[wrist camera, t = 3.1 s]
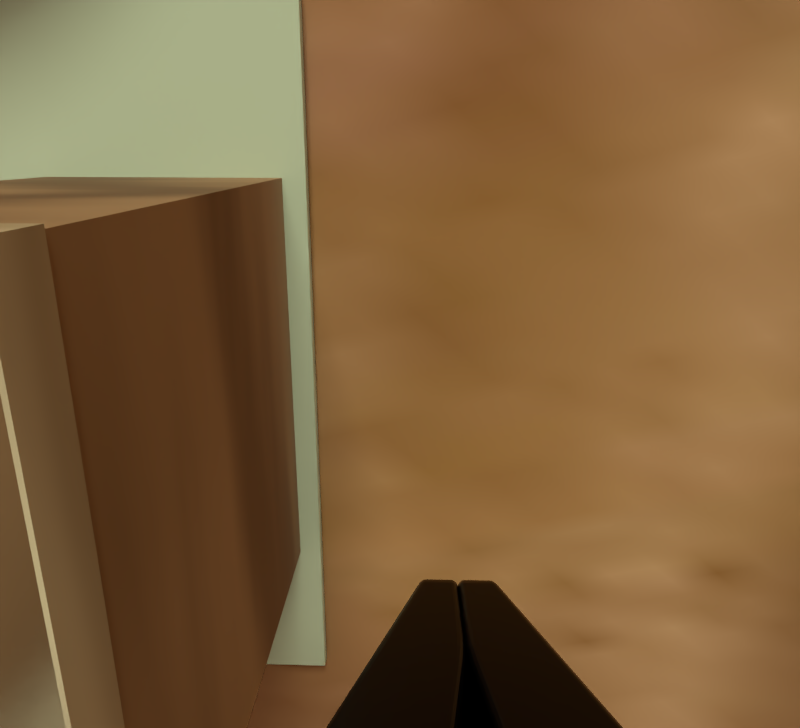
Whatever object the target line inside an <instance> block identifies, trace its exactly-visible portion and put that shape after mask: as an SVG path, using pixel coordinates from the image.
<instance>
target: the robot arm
mask: <svg viewBox="0 0 800 728" xmlns="http://www.w3.org/2000/svg"><path fill="white" fill-rule="evenodd" d="M327 728H623V727H622V726H621V725H620V724H619V723H618V722H617V721H616V719H615V718H614V717H613V716H612V715H611V714H610V713H609V712H608V710H607V709H606V708H605V707H604V706H603V705H602V704H601V702H600V701H599V700H598V699H597V698H596V697H595V696H594V694H593V693H592V692H591V691H590V690H589V689H588V688H587V686H586V685H585V684H584V683H583V682H582V681H581V680H580V679H579V677H578V676H577V675H576V674H575V673H574V672H573V671H572V669H571V668H570V667H569V666H568V665H567V664H566V663H565V661H564V660H563V659H562V658H561V657H560V656H559V655H558V654H557V652H556V651H555V650H554V649H553V648H552V647H551V646H550V644H549V643H548V642H547V641H546V640H545V639H544V638H543V636H542V635H541V634H540V633H539V632H538V631H537V630H536V628H535V627H534V626H533V625H532V624H531V623H530V622H529V621H528V619H527V618H526V617H525V616H524V615H523V614H522V613H521V611H520V610H519V609H518V608H517V607H516V606H515V605H514V603H513V602H512V601H511V600H510V599H509V598H508V597H507V595H506V594H505V593H504V592H503V591H502V590H501V589H500V588H499V586H498V585H497V584H496V583H494V582H493V581H479V580H463V581H461V582H460V583H459V584H458V586H457V584H456V582H454V581H453V580H428V579H427V580H423V581H421V582H420V583H419V585H418V586H417V588H416V589H415V591H414V592H413V594H412V596H411V597H410V599H409V600H408V602H407V603H406V605H405V606H404V608H403V610H402V611H401V613H400V614H399V616H398V617H397V619H396V620H395V622H394V624H393V625H392V627H391V628H390V630H389V631H388V633H387V634H386V636H385V638H384V639H383V641H382V642H381V644H380V645H379V647H378V648H377V650H376V651H375V653H374V655H373V656H372V658H371V659H370V661H369V662H368V664H367V665H366V667H365V669H364V670H363V672H362V673H361V675H360V676H359V678H358V679H357V681H356V683H355V684H354V686H353V687H352V689H351V690H350V692H349V693H348V695H347V697H346V698H345V700H344V701H343V703H342V704H341V706H340V707H339V709H338V710H337V712H336V714H335V715H334V717H333V718H332V720H331V721H330V723H329V724H328V726H327Z"/></svg>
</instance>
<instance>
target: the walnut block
mask: <svg viewBox="0 0 800 728" xmlns="http://www.w3.org/2000/svg"><path fill="white" fill-rule="evenodd" d="M300 552H301V549H300V529H299V509H298V489H297V470H296V450H295V430H294V410H293V390H292V370H291V350H290V331H289V311H288V291H287V271H286V251H285V231H284V212H283V192H282V178H189V177H38V178H25V179H12V180H0V728H247V726H248V723H249V720H250V717H251V713H252V710H253V707H254V703H255V700H256V697H257V694H258V690H259V687H260V684H261V680H262V677H263V674H264V671H265V667H266V664H267V661H268V657H269V654H270V651H271V647H272V644H273V641H274V638H275V634H276V631H277V628H278V624H279V621H280V618H281V615H282V611H283V608H284V605H285V601H286V598H287V595H288V592H289V588H290V585H291V582H292V578H293V575H294V572H295V569H296V565H297V562H298V559H299V555H300Z"/></svg>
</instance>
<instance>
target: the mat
mask: <svg viewBox="0 0 800 728" xmlns="http://www.w3.org/2000/svg"><path fill="white" fill-rule="evenodd" d="M38 177H189V178H282V192H283V212H284V231H285V251H286V271H287V291H288V311H289V331H290V350H291V370H292V390H293V410H294V430H295V450H296V470H297V489H298V509H299V529H300V549H301V552H300V555H299V559H298V562H297V565H296V569H295V572H294V575H293V578H292V582H291V585H290V588H289V592H288V595H287V598H286V601H285V605H284V608H283V611H282V615H281V618H280V621H279V624H278V628H277V631H276V634H275V638H274V641H273V644H272V647H271V651H270V654H269V657H268V661H267V664H282V665H319V666H325V663H326V658H327V654H326V628H325V602H324V576H323V550H322V524H321V499H320V473H319V447H318V421H317V395H316V369H315V343H314V317H313V291H312V265H311V240H310V214H309V188H308V162H307V136H306V110H305V84H304V58H303V32H302V6H301V0H0V180H12V179H25V178H38Z"/></svg>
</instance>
